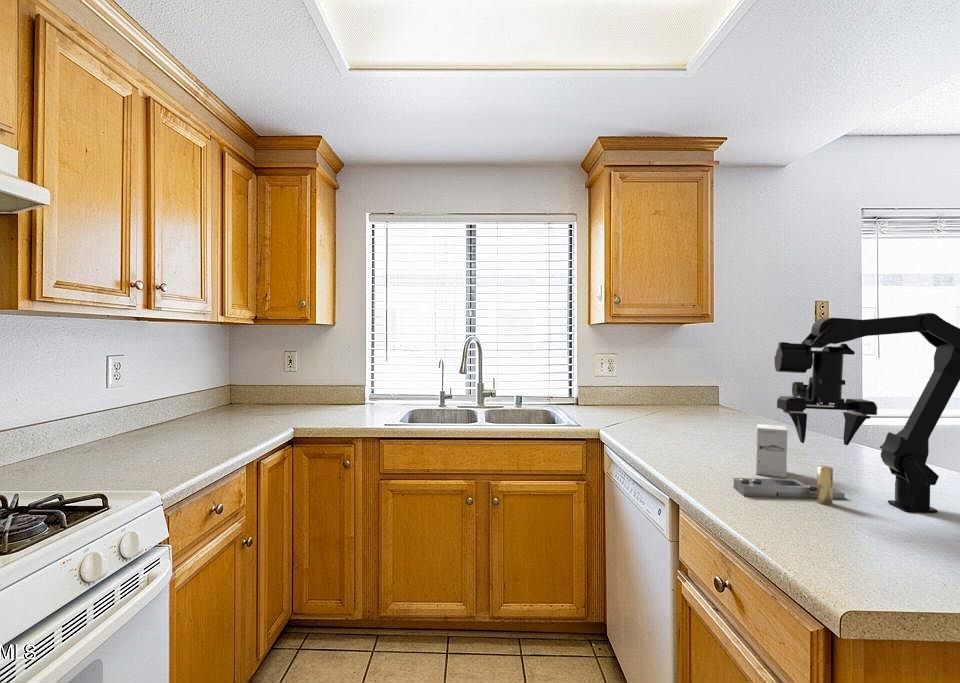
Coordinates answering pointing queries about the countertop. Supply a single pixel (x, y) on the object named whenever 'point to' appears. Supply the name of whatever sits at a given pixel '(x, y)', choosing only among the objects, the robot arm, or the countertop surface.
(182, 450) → the countertop surface
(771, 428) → the supplement box
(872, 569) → the countertop surface
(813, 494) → the lower chain end
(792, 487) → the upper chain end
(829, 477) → the brass pin
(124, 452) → the countertop surface
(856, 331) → the robot arm
